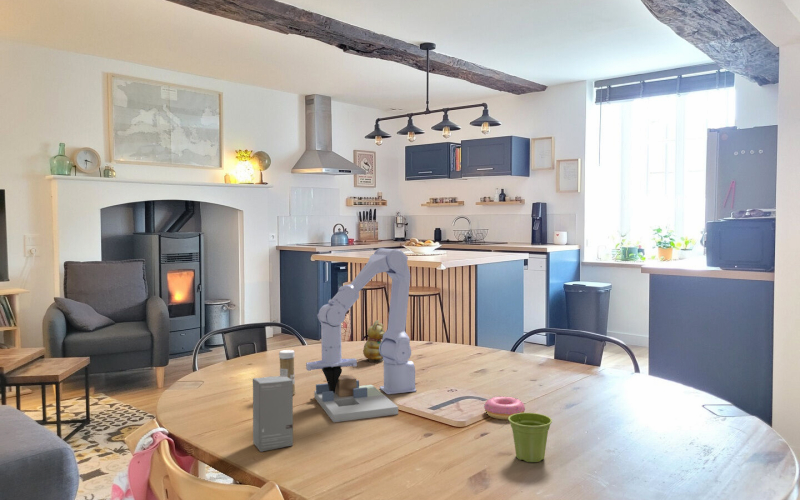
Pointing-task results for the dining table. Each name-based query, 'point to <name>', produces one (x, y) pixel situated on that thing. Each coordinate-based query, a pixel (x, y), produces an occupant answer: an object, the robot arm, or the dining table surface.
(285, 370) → the sprinkles bottle
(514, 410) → the doughnut
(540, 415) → the plant pot
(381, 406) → the deck
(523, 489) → the dining table surface
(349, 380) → the walnut block
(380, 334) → the decorative figurine
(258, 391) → the skincare box
